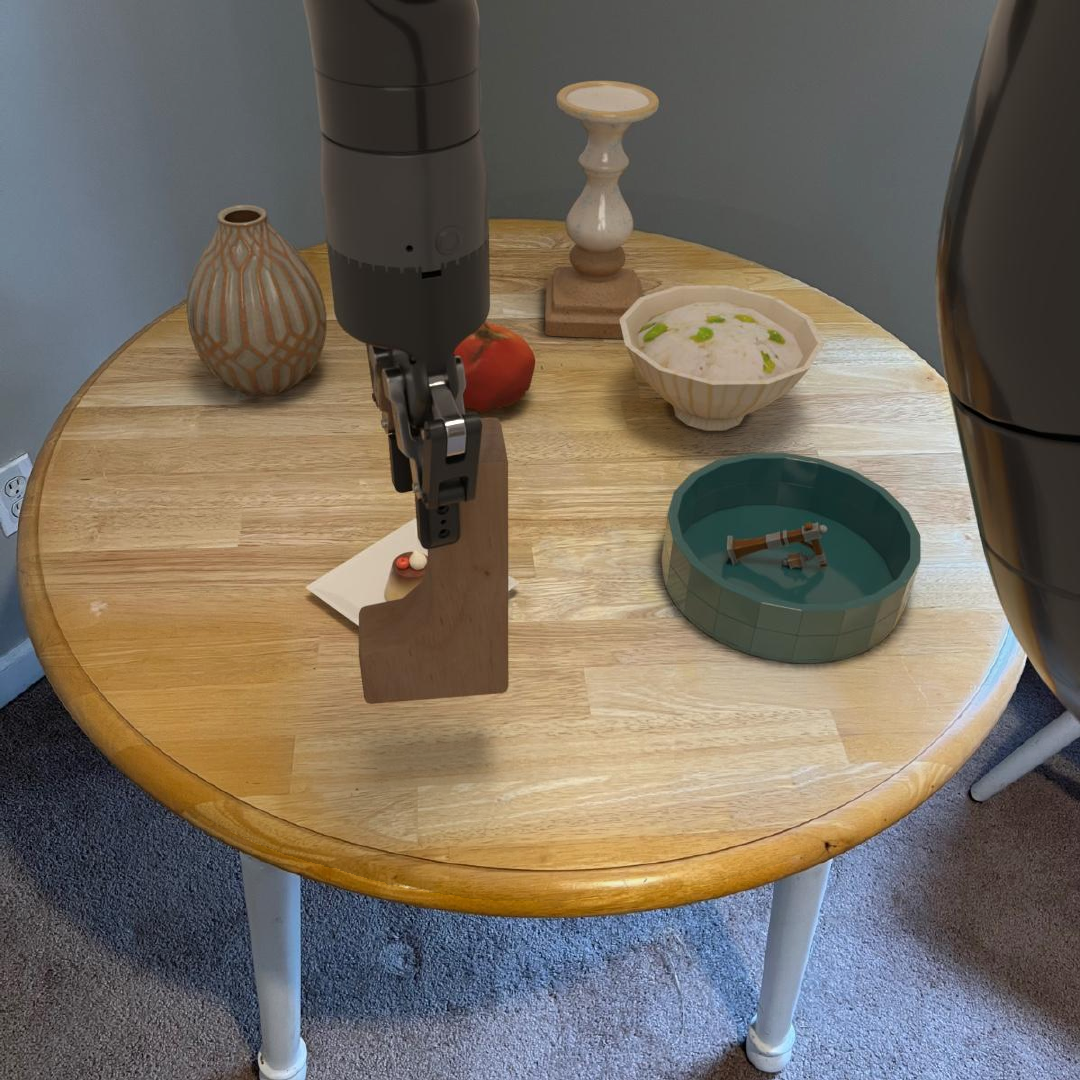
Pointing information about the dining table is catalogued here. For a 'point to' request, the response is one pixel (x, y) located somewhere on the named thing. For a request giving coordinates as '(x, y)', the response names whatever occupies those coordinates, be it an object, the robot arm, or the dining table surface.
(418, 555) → the dessert
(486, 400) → the tomato
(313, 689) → the dining table surface
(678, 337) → the bowl
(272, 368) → the vase
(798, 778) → the dining table surface
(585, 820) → the dining table surface
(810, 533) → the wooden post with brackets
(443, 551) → the wooden block
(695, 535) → the teal bowl
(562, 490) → the dining table surface
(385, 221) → the robot arm
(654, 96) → the candle holder
